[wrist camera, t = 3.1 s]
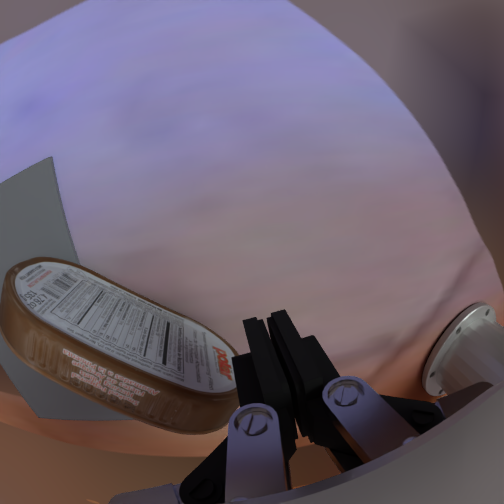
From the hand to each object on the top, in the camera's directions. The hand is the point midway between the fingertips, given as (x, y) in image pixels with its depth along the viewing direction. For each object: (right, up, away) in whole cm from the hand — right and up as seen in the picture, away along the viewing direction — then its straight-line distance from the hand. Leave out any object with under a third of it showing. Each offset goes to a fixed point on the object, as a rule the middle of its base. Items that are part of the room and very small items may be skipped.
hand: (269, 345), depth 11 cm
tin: (-8, 0, +7) cm, 11 cm away
